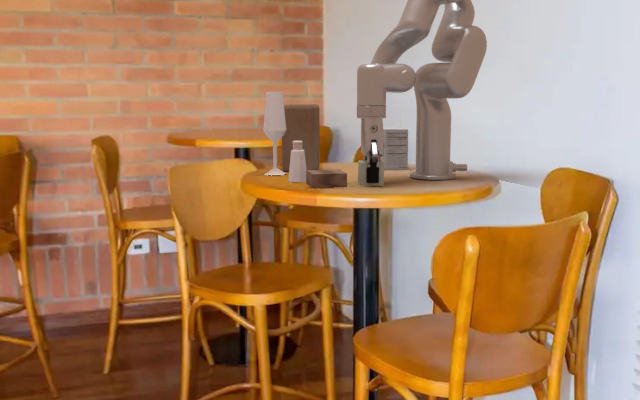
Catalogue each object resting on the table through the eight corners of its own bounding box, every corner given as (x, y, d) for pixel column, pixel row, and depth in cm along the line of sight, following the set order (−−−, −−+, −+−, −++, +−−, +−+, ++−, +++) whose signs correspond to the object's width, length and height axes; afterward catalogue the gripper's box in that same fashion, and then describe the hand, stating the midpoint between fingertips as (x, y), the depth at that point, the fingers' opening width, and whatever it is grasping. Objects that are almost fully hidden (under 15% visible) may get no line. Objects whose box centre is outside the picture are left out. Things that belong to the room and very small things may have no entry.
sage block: (380, 182, 191) (380, 160, 190) (383, 185, 185) (384, 162, 184) (358, 182, 191) (358, 160, 190) (360, 185, 185) (361, 162, 184)
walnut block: (339, 184, 191) (339, 169, 190) (346, 188, 182) (347, 173, 181) (306, 185, 189) (306, 170, 188) (312, 189, 180) (312, 174, 180)
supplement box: (379, 167, 226) (380, 127, 224) (402, 167, 226) (403, 127, 224) (384, 170, 218) (384, 128, 216) (408, 169, 219) (408, 128, 217)
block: (313, 172, 214) (313, 105, 210) (281, 171, 216) (280, 105, 212) (320, 168, 223) (320, 104, 220) (289, 167, 225) (288, 104, 222)
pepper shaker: (310, 182, 192) (310, 141, 190) (290, 183, 190) (290, 141, 189) (304, 179, 197) (304, 139, 195) (285, 180, 196) (285, 140, 194)
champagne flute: (261, 173, 211) (260, 91, 207) (283, 172, 213) (282, 91, 209) (266, 176, 205) (265, 91, 201) (289, 175, 207) (288, 91, 203)
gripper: (391, 113, 177) (390, 185, 180) (380, 111, 194) (379, 176, 197) (361, 113, 176) (360, 186, 179) (353, 111, 193) (352, 177, 196)
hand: (370, 180), depth 188 cm, fingers closed on sage block, 6 cm apart
